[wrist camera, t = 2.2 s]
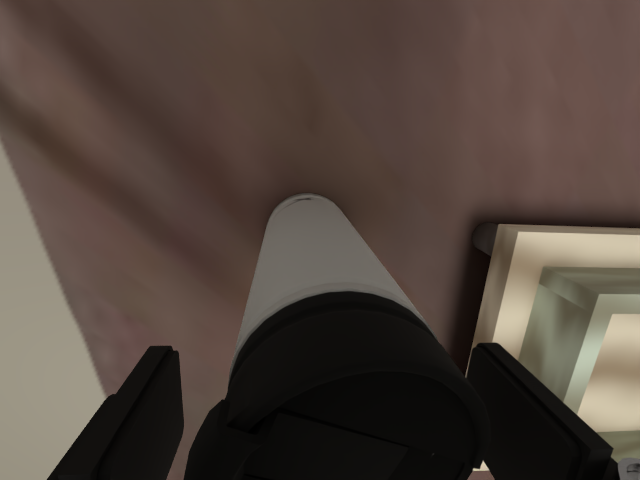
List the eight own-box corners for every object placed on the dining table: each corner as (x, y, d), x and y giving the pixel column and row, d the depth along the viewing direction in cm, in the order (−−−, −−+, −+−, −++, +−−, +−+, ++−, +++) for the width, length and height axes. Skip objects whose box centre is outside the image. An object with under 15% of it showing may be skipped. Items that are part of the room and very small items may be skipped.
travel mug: (283, 176, 24) (264, 313, 5) (360, 214, 25) (586, 439, 6) (249, 248, 25) (127, 584, 6) (324, 281, 27) (416, 636, 7)
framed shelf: (467, 211, 26) (571, 252, 16) (685, 219, 28) (890, 259, 18) (430, 412, 32) (491, 528, 22) (613, 405, 34) (741, 509, 24)
